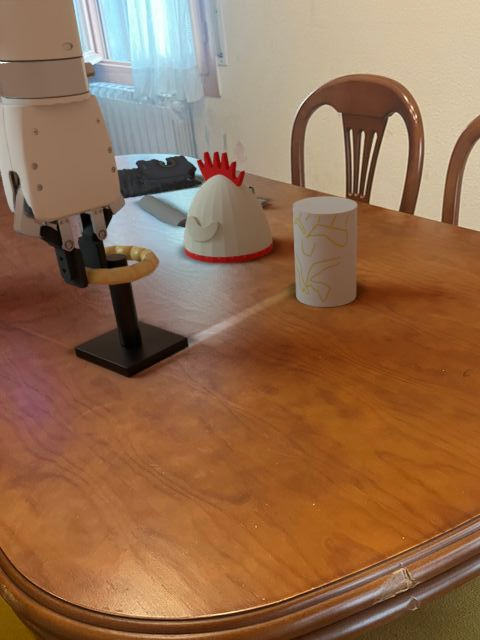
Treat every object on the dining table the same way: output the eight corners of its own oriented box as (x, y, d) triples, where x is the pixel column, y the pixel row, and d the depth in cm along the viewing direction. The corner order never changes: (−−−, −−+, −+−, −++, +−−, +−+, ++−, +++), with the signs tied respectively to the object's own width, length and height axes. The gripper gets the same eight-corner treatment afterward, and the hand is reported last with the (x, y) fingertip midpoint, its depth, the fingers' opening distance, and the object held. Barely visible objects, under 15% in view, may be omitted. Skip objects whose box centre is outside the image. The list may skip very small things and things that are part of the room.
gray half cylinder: (158, 202, 130) (157, 193, 129) (198, 226, 116) (197, 216, 115) (138, 206, 128) (136, 196, 127) (176, 230, 114) (174, 220, 113)
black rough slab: (85, 185, 143) (81, 162, 140) (181, 172, 152) (178, 150, 150) (105, 201, 132) (101, 176, 129) (207, 185, 141) (204, 162, 139)
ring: (52, 275, 70) (48, 261, 69) (120, 252, 76) (117, 239, 75) (109, 293, 65) (106, 278, 64) (176, 267, 71) (174, 253, 71)
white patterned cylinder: (286, 302, 87) (282, 210, 80) (309, 281, 93) (307, 194, 87) (344, 310, 85) (344, 216, 78) (364, 288, 91) (366, 199, 84)
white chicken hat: (221, 234, 112) (211, 140, 104) (289, 246, 106) (285, 147, 98) (167, 259, 102) (151, 157, 94) (239, 273, 96) (229, 166, 88)
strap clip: (255, 202, 129) (254, 180, 127) (268, 204, 128) (267, 181, 125) (229, 213, 123) (226, 189, 121) (242, 215, 122) (240, 191, 119)
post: (76, 356, 75) (52, 261, 69) (136, 328, 81) (120, 238, 75) (129, 378, 71) (108, 278, 65) (188, 346, 77) (175, 252, 71)
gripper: (89, 71, 65) (123, 253, 75) (-67, 89, 54) (-4, 298, 65) (141, 75, 61) (168, 266, 72) (-16, 95, 51) (43, 315, 61)
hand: (86, 279), depth 68 cm, fingers closed on ring, 2 cm apart
